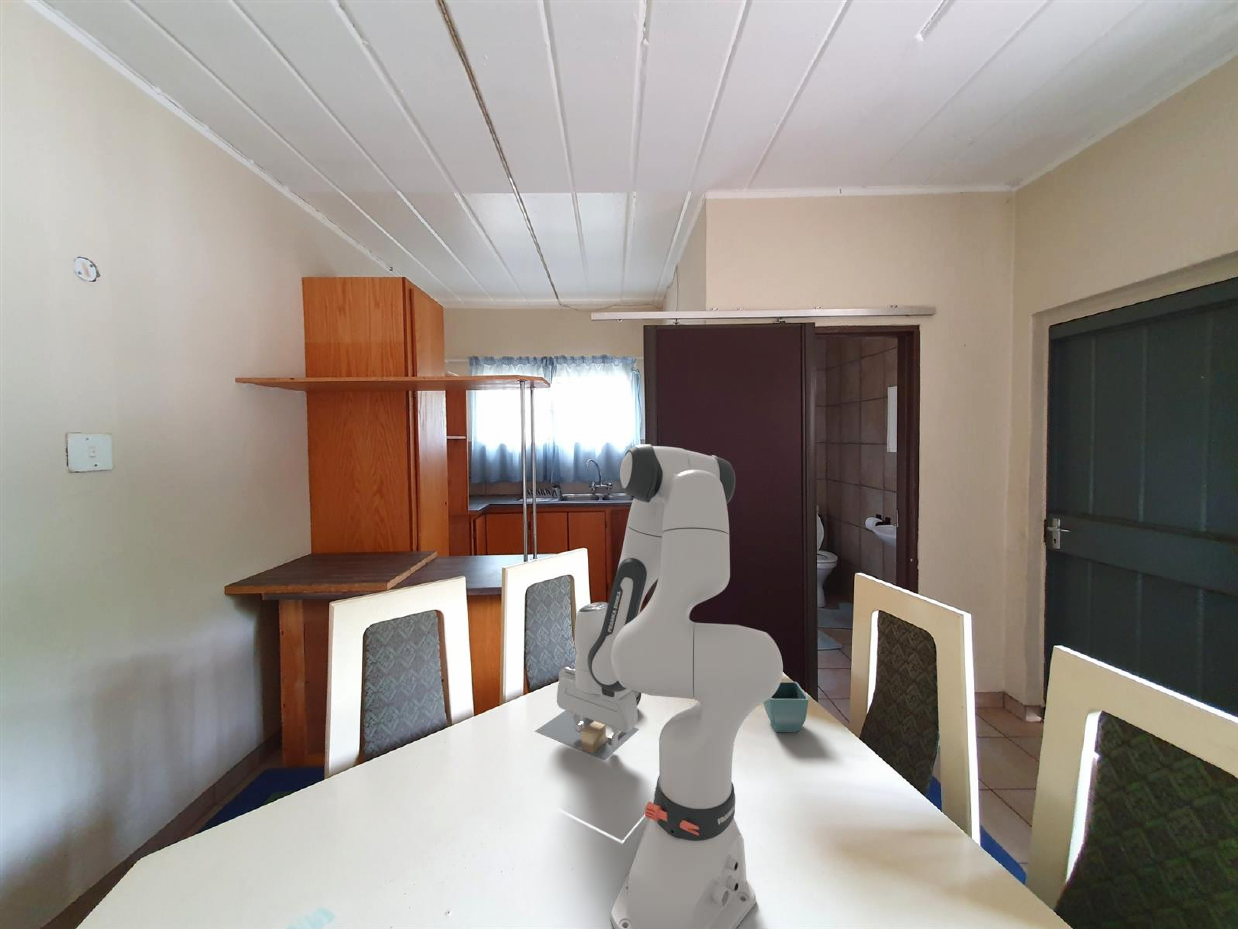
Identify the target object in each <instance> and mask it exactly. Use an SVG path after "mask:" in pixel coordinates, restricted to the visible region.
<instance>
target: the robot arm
mask: <svg viewBox="0 0 1238 929" xmlns="http://www.w3.org/2000/svg"><path fill="white" fill-rule="evenodd" d="M619 468H620V469H619V478H620V487H621V489H622V490H623V491H624V493H625V494H626V496H627V497H630V498H632V502H631V506H630V510H629V512H628V518H627V522H626V528H625V534H624V540H623V545H622V549H621V554H620V558H619V563H618V566H617V571H616V575H615V577H614V581H613V585H612V588H611V591H610V596H609V600H608V602H606V601H599V602H598V601H597V602H592V603H588V604H586V605H584V606H583V607H581V608H579V610H578V611H577V614H576V617H575V624H574V648H575V652H576V656H575V660H574V668H570V667H569V666H564V667H562V668H560V669H559V672H558V684H557V692H556V703H557V707H558V708H560V709H561V710H564V711H565V710H567V711H569V712H570V717H571V719H572V721H573V723H574V731H577V732H579V733H580V732H581V731H582V730H583V729H584V722H582V721H581V719H580V716H583V717H585V718H588V719H591V720H593V721H596V722H599V723H601V724H604V725H607V726H609V727H612V732H614V733H612V734H611V735H610V736H609V737H608V744H609V745H611V746H615V745H617V743H618V735H619V734H620V732H621V731H622V732H625V733H627V732H629V731H630V730H631V729H632V728H634V727H636V725H637V724H638V705H637V702H636V697H635V694H634V693H633V691H637V692H640V693H641V694H645V695H648V696H651V697H652V696H653V697H661V698H662V697H663V698H678V699H689V700H690V699H691V700H694V701H697V702H696V703H695V704H694V705H692V706H691V707H689V708H687V709H685V710H683V711H680V712H678V713H676V714H675V715H673V716H672V717H671V718H669V720H667V721H666V723H665V724H664V725H663V727H662V729H661V730H660V734H659V738H658V749H659V750H658V752H659V753H658V755H659V758H658V760H659V762H658V763H659V764H658V765H659V769H658V770H659V772H658V773H659V774H658V777H657V779H656V780H657V781H656V785H655V789H654V794H653V796H654V797H653V802H652V801H648V802H647V803H646V805H645V808H644V817H645V818H646V819H648V821H647V825H646V827H645V829H644V832H643V834H642V837H641V840H640V843H639V845H638V848H637V851H636V853H635V855H634V859H633V860H632V861H633V862H632V865H631V867H630V869H629V872H628V874H627V876H626V878H625V880H624V882H623V884H622V887H621V889H620V891H619V893H618V895H617V897H616V899H615V901H614V903H613V906H612V908H611V912H610V919H609V920H610V922H611V924H612V926H613V929H737V927H738V926H739V925H740V924H741V923H742V921H743V920H744V918H746V916H747V915H748V913H749V912H750V911H751V910H752V909H753V907H754V906H755V904H756V902H757V898H756V892H755V889H754V888H753V886H752V884H751V883H750V882H749V881H748V879H747V867H746V865H747V864H746V852H745V840H744V837H743V835H742V833H741V830H740V829H739V826H738V825H737V824H738V823H737V822H736V820H735V819H736V818H735V813H736V793H735V786H734V783H733V781H732V780H733V776H732V774H733V772H732V770H733V757H734V756H733V755H734V746H735V741H736V737H737V734H738V732H739V730H740V728H741V726H742V725H743V723H744V721H745V720H746V718H747V717H748V716H749V715H750V714H751V713H752V712H753V711H754V710H755V709H756V708H757V707H759V706H760V705H762V704H764V703H763V702H765V701H767V700H769V699H770V698H771V697H772V696H773V695H774V694H775V692H776V691H777V689H778V687H779V685H780V682H782V679H783V673H784V672H783V670H784V664H783V659H782V654H781V652H780V649H779V647H778V645H777V643H776V642H775V640H774V639H773V638H772V637H771V635H770V634H769V633H768V632H765V631H762V630H759V629H755V628H751V627H747V626H743V625H740V624H726V623H725V624H723V623H703V622H695V621H692V620H691V619H690V614H691V611H692V610H693V608H694V607H695V606H697V605H698V604H701V603H703V602H705V601H707V600H710V599H711V598H714V597H715V596H717V595H719V594H720V593H722V592H723V591H724V590H725V589H726V588H727V586H728V584H729V583H730V582H729V581H730V578H731V562H730V561H731V560H730V559H731V558H730V555H731V554H730V550H731V549H730V523H729V512H728V505H727V504H728V503H729V502H730V501H731V500H732V498H733V496H734V494H735V489H736V473H735V470H734V468H733V466H732V463H730V462H729V461H727V460H726V459H724V458H722V457H719V456H717V455H713V454H712V455H708V454H704V453H700V452H697V451H691V450H688V449H684V448H681V447H673V446H663V445H662V446H661V445H659V446H658V445H652V444H649V443H647V444H646V443H645V444H635V445H632V446H631V447H630V448H629V449H628V450H627V451H626V453H625V454H624V457H623V459H622V462H621V465H620V467H619ZM656 581H657V583H656ZM655 583H656V587H655V589H654V591H653V594H652V596H651V597H650V599H649V601H648V603H647V604H646V605H645V607H644V608H643V609H642V610H641V608H642V605H643V602H644V600H645V597H646V595H647V594H648V592H649V591H650V589H651V587H652V586H653V584H655ZM632 690H633V691H632ZM579 715H580V716H579Z"/></svg>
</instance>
